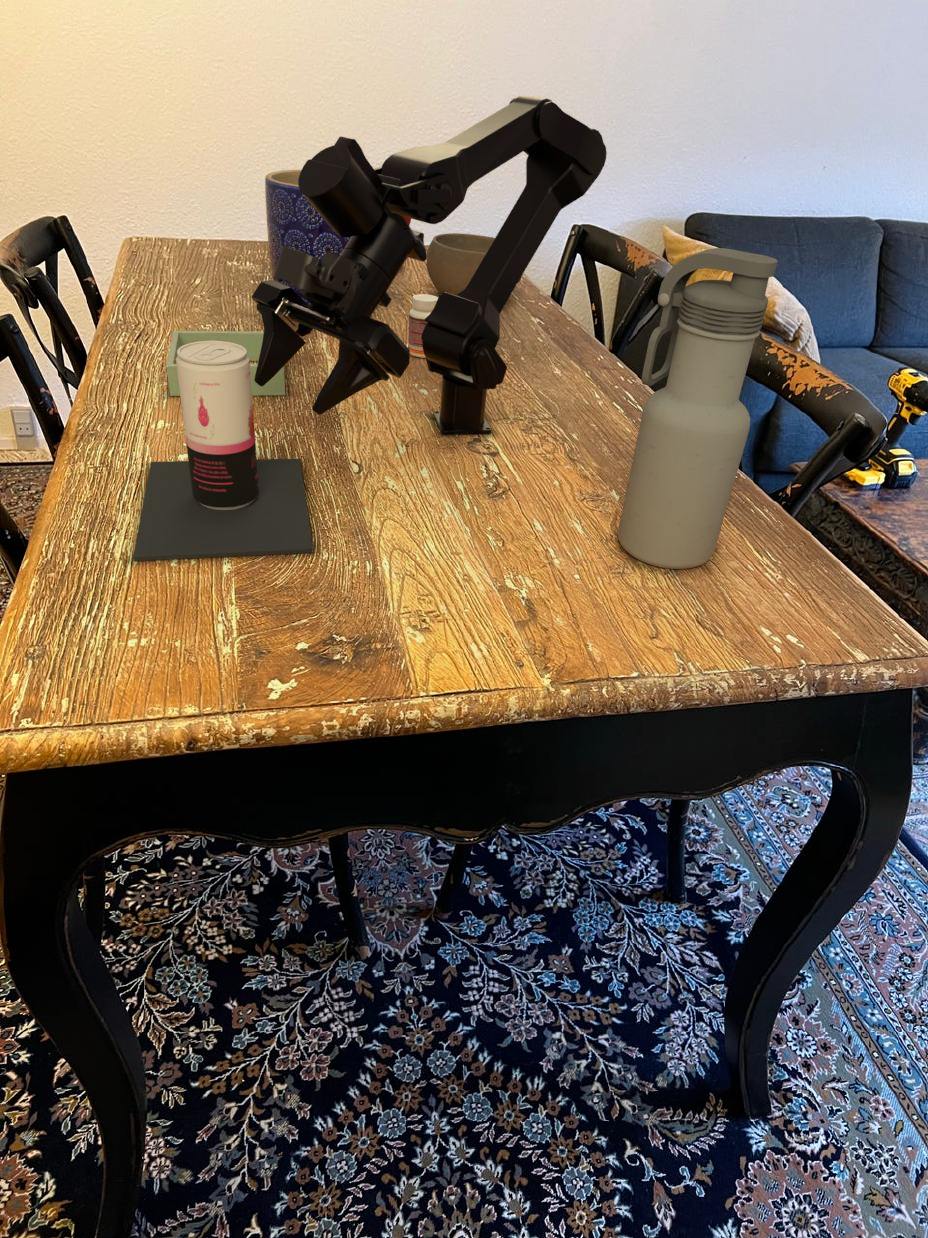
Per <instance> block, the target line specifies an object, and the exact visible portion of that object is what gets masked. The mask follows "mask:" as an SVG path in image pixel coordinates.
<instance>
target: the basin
mask: <svg viewBox="0 0 928 1238" xmlns="http://www.w3.org/2000/svg"><path fill="white" fill-rule="evenodd" d="M263 334H264V330H260V331H259V330H256V331H255V330H253V331H252V330H243V331H242V330H241V331H240V330H172V335H171V339H170V345H169V349H168V353H167V354H168V355H167V360H166V365H165V369H166V376H167V382H168V391H169V396H170V397H181V396H180V388H179V380H178V372H177V364H176V358H177V356H178V355H177V350H178V349H179V348H180V347H181V346H183V345H186V344H189V343H193V342H199V341H225V342H231V343H235V344H238V345H241V346H243V347H244V348H245V349H246V351H247V356H248V357H249V362H256V361H257V362H258V360H259V356H260V351H261V347H262V342H263ZM257 365H258V363H250V377H251V390H252V397H253V396H254V397H255V396H256V397H257V396H259V397H260V396H286V381H285V380H286V377H285V376H286V375H285V365H284V366H283V367H282V369H281V370H280V371H279V372H278V373H277V374H276V375H275V376H274V377H273V378H272V379H271V380H270V381H268V382H267V383H266V384H265V385H264V386H259V385H258V384H257V383H256V382H255V381H254V379H255V374H256V369H257Z"/></svg>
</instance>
